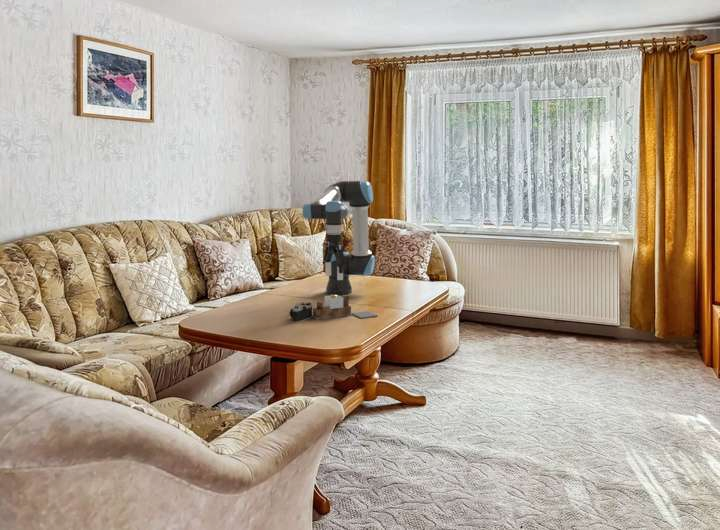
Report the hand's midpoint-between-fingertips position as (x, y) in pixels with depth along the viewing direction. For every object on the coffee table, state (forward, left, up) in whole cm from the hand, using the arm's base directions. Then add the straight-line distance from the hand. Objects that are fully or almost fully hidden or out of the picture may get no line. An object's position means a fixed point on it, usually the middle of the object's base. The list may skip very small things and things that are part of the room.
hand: (334, 277), depth 277 cm
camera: (-2, -17, -19) cm, 26 cm away
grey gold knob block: (0, 0, -14) cm, 14 cm away
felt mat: (+6, +13, -19) cm, 24 cm away
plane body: (0, -1, -19) cm, 19 cm away
